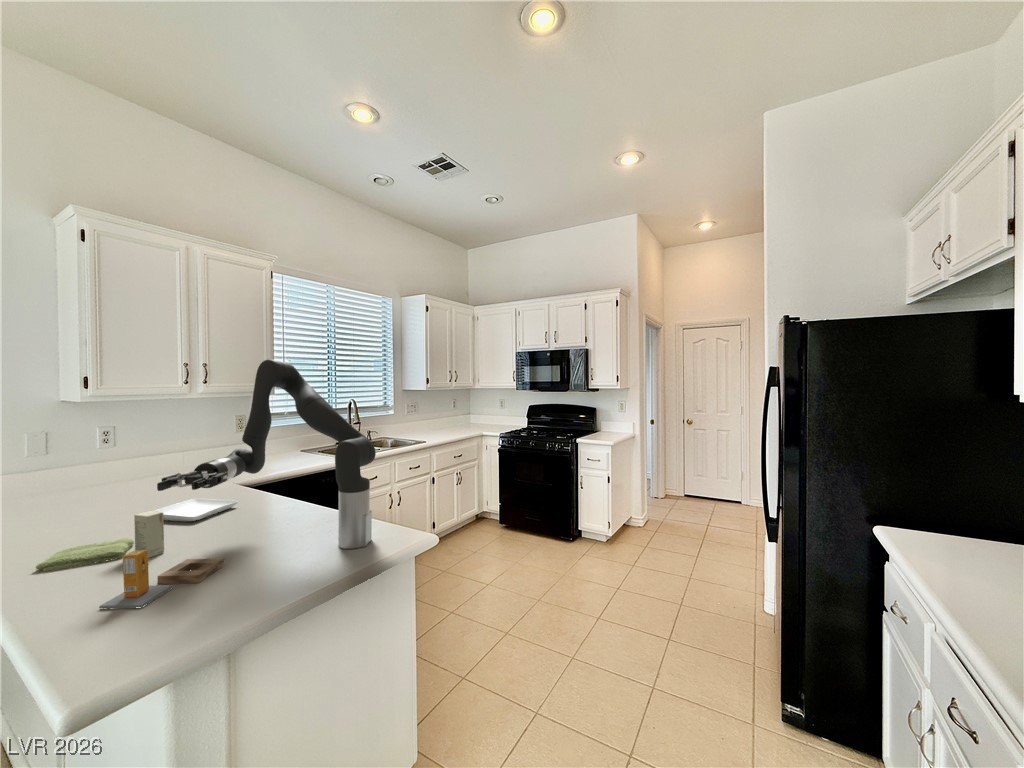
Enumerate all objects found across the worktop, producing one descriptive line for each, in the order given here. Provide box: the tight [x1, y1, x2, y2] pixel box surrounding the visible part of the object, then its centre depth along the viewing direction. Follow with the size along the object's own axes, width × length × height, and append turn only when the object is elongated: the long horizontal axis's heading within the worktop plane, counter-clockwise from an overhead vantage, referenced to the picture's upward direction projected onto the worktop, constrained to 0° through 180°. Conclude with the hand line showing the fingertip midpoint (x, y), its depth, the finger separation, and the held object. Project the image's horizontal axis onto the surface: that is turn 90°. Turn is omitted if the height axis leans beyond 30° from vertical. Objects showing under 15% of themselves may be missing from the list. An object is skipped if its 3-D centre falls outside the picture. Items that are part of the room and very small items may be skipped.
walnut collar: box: [157, 557, 225, 585], centre depth 108 cm, size 10×10×2 cm
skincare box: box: [133, 510, 165, 559], centre depth 121 cm, size 6×4×12 cm
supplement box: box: [122, 550, 150, 598], centre depth 96 cm, size 3×3×10 cm
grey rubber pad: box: [98, 584, 174, 609], centre depth 96 cm, size 9×9×1 cm
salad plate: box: [153, 498, 239, 522], centre depth 158 cm, size 21×21×3 cm
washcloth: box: [35, 537, 135, 573], centre depth 118 cm, size 13×18×3 cm
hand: (176, 486), depth 107 cm, fingers open, 8 cm apart
